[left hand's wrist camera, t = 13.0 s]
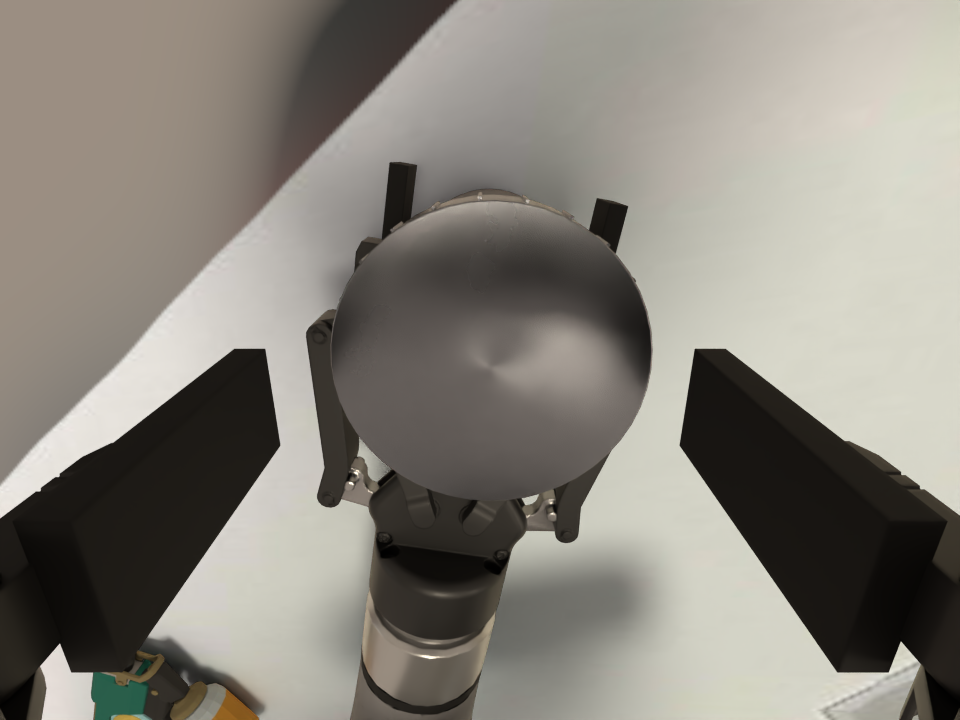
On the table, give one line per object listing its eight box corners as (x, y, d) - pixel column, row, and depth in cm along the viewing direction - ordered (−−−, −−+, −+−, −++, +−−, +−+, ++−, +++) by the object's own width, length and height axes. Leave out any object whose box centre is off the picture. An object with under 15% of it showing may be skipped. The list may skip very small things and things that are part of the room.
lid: (310, 408, 18) (288, 440, 16) (405, 136, 15) (393, 133, 13) (554, 500, 19) (562, 540, 17) (690, 267, 16) (719, 284, 14)
